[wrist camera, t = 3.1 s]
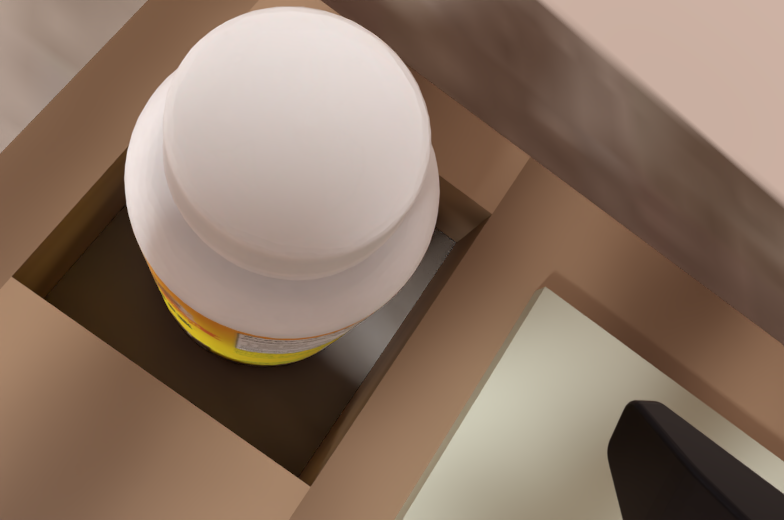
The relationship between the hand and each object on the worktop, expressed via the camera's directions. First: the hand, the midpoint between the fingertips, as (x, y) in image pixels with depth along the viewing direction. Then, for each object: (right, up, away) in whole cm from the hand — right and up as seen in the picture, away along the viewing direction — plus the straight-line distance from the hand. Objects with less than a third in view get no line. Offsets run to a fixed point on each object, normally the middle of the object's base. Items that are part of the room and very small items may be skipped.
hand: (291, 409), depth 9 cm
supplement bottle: (-2, +2, +11) cm, 12 cm away
